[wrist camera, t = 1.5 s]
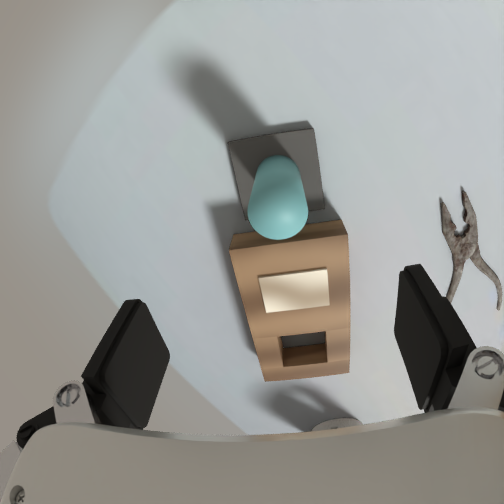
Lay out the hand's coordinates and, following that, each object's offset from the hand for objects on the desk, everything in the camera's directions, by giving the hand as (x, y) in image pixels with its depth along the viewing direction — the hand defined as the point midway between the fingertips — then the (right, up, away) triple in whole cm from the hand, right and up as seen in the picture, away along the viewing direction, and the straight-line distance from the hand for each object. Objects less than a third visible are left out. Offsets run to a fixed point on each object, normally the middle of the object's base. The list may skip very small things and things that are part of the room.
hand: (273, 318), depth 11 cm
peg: (+1, +9, +15) cm, 17 cm away
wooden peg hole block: (+4, -3, +22) cm, 22 cm away
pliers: (+23, 0, +19) cm, 30 cm away
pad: (+1, +9, +15) cm, 18 cm away
